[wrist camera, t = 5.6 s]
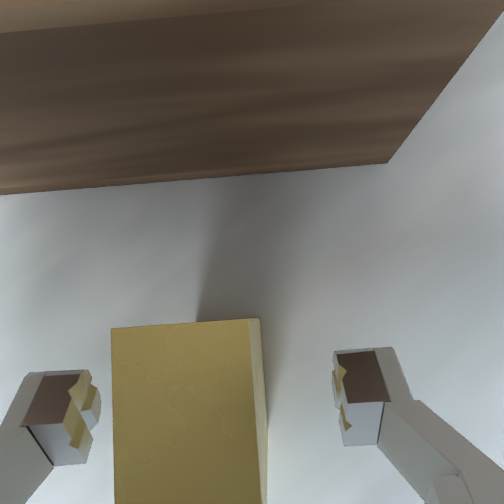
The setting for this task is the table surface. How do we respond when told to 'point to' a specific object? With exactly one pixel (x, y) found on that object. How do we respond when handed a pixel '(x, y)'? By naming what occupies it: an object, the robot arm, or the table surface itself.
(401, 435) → the robot arm
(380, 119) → the box
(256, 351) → the gold rectangular block
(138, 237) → the table surface
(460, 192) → the table surface
